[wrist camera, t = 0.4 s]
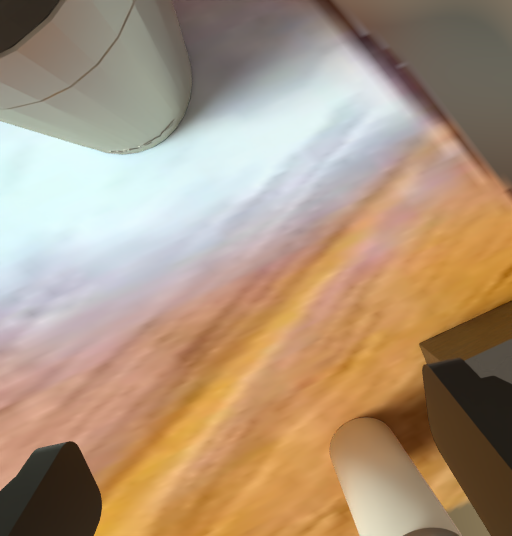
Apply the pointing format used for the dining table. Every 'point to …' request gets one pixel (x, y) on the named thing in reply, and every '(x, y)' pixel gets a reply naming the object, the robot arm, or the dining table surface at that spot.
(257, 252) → the dining table surface
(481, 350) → the block
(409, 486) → the canister
